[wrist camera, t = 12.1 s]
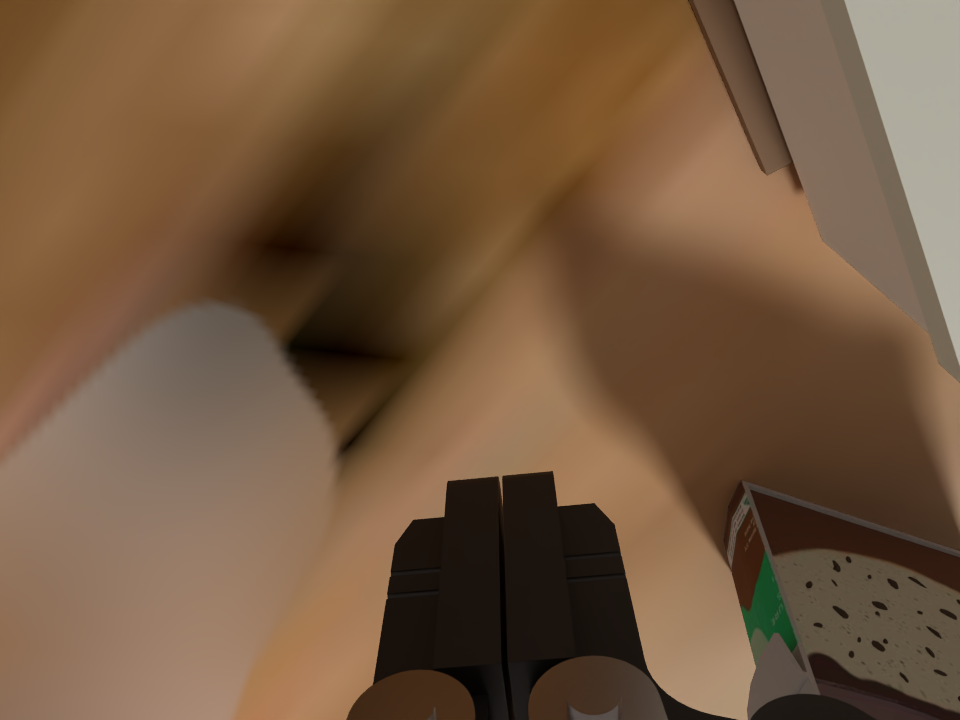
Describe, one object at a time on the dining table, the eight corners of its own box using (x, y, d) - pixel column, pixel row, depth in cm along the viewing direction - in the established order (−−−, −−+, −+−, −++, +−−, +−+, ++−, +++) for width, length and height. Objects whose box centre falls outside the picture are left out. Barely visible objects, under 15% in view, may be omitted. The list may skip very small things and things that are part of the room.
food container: (629, 595, 33) (687, 846, 24) (703, 467, 30) (799, 692, 21) (909, 678, 34) (1061, 939, 25) (1000, 564, 32) (1206, 808, 23)
